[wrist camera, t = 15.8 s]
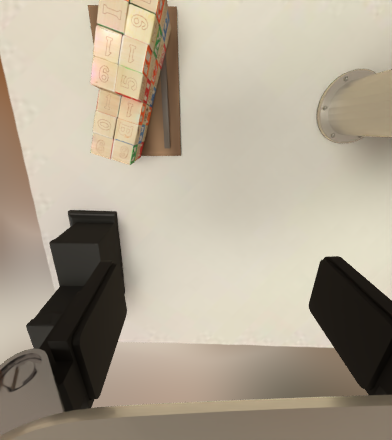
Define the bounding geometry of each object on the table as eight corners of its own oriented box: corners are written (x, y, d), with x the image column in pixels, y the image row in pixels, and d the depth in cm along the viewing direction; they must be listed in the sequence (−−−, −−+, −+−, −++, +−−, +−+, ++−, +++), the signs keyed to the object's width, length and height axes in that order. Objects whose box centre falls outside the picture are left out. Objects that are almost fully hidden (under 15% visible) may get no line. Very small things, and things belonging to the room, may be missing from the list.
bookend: (68, 209, 49) (-27, 275, 27) (117, 210, 49) (62, 276, 28) (85, 291, 58) (23, 389, 36) (126, 291, 58) (89, 388, 37)
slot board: (176, 9, 36) (175, 1, 33) (180, 154, 45) (180, 156, 42) (90, 8, 35) (83, 0, 33) (112, 155, 44) (108, 156, 42)
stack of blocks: (141, 158, 42) (124, 169, 31) (109, 147, 41) (79, 155, 30) (171, 26, 34) (163, -23, 23) (132, 9, 33) (104, -51, 22)
